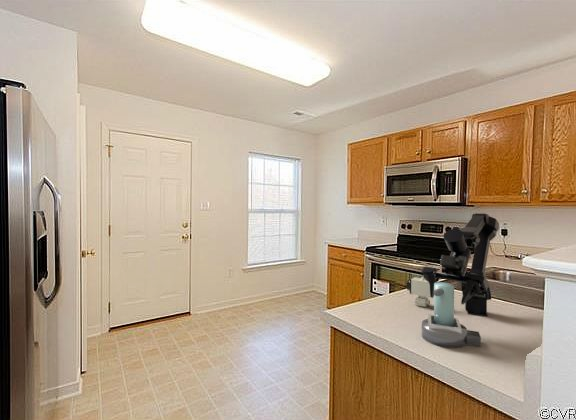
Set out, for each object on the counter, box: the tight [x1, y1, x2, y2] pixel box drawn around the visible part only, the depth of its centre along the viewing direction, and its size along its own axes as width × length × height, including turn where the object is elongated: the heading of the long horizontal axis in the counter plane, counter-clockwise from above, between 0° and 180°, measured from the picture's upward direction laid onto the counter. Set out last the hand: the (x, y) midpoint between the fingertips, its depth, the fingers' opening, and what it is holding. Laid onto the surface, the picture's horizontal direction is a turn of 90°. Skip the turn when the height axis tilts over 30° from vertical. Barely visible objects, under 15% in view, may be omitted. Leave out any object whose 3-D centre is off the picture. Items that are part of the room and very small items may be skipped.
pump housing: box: [433, 281, 455, 327], centre depth 93 cm, size 8×6×13 cm
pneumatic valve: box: [406, 276, 434, 308], centre depth 125 cm, size 6×12×12 cm, turn 51°
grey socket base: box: [421, 314, 482, 349], centre depth 94 cm, size 16×13×6 cm
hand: (446, 300), depth 95 cm, fingers open, 9 cm apart
